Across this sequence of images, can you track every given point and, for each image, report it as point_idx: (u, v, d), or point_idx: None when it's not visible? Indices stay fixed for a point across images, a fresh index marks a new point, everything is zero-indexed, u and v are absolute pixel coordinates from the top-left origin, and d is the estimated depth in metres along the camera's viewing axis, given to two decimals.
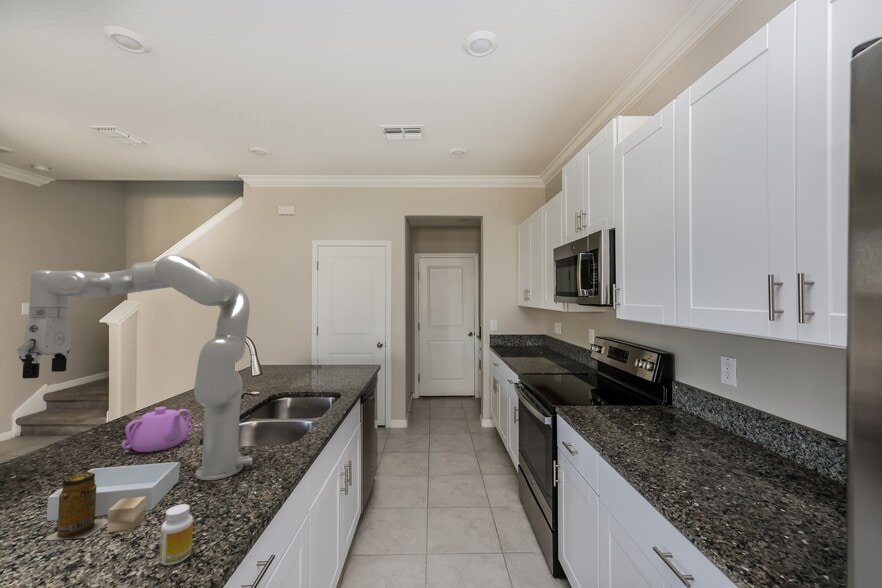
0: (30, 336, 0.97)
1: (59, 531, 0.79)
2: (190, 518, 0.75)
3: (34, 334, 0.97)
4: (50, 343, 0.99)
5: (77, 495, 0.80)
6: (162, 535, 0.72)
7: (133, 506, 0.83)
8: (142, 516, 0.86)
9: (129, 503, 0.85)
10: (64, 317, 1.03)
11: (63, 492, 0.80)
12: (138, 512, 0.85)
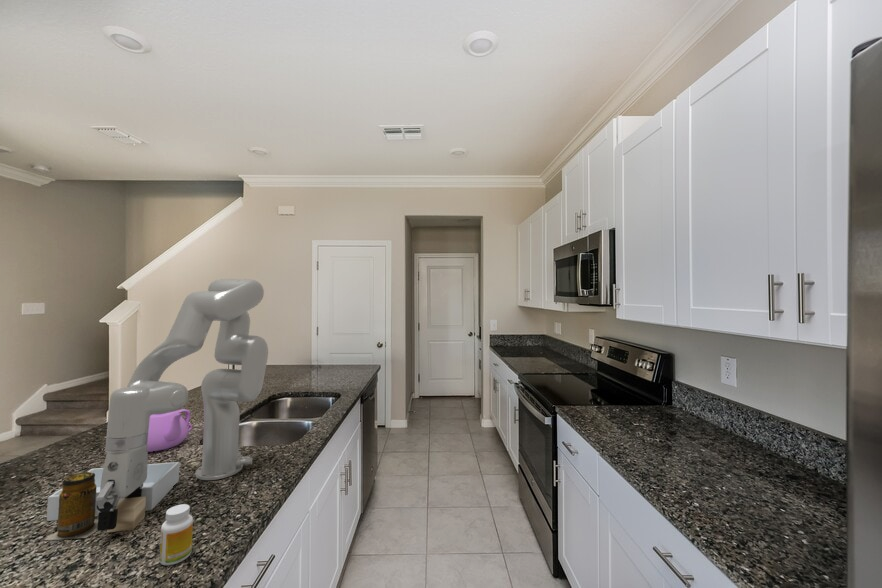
0: (109, 477, 0.79)
1: (59, 531, 0.79)
2: (190, 518, 0.75)
3: (113, 473, 0.79)
4: (130, 481, 0.81)
5: (77, 495, 0.80)
6: (162, 535, 0.72)
7: (133, 506, 0.83)
8: (142, 516, 0.86)
9: (129, 503, 0.85)
10: (145, 444, 0.85)
11: (63, 492, 0.80)
12: (138, 512, 0.85)
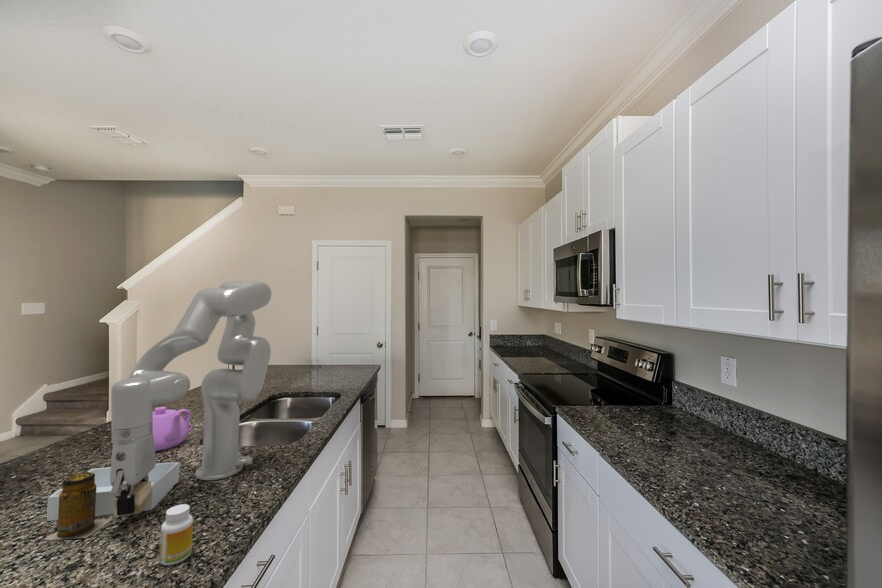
0: (117, 466, 0.81)
1: (59, 531, 0.79)
2: (190, 518, 0.75)
3: (121, 463, 0.81)
4: (139, 469, 0.83)
5: (77, 495, 0.80)
6: (162, 535, 0.72)
7: (139, 490, 0.85)
8: (148, 500, 0.88)
9: (135, 487, 0.86)
10: (150, 433, 0.86)
11: (63, 492, 0.80)
12: (144, 496, 0.86)
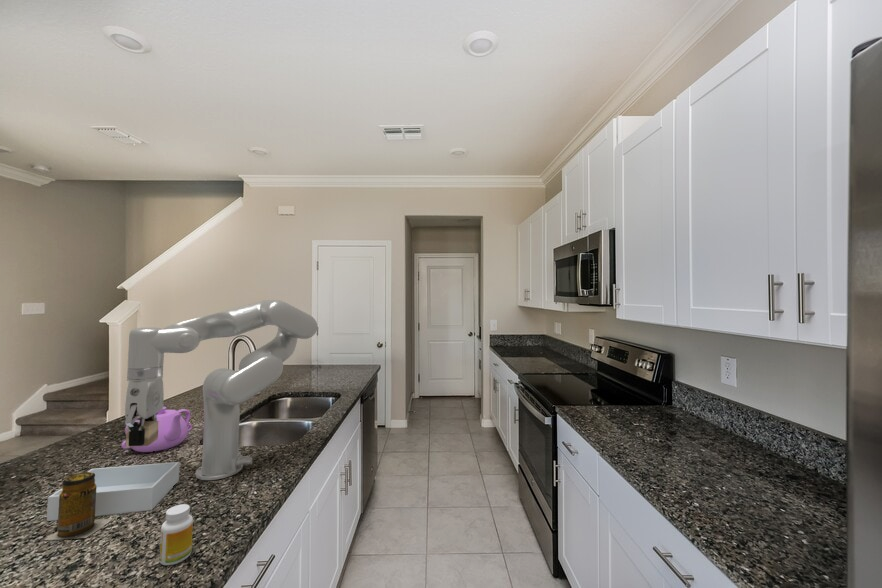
0: (132, 400, 0.92)
1: (59, 531, 0.79)
2: (190, 518, 0.75)
3: (135, 398, 0.92)
4: (149, 405, 0.95)
5: (77, 495, 0.80)
6: (162, 535, 0.72)
7: (148, 425, 0.95)
8: (155, 437, 0.99)
9: (144, 424, 0.97)
10: (161, 376, 0.98)
11: (63, 492, 0.80)
12: (152, 432, 0.97)
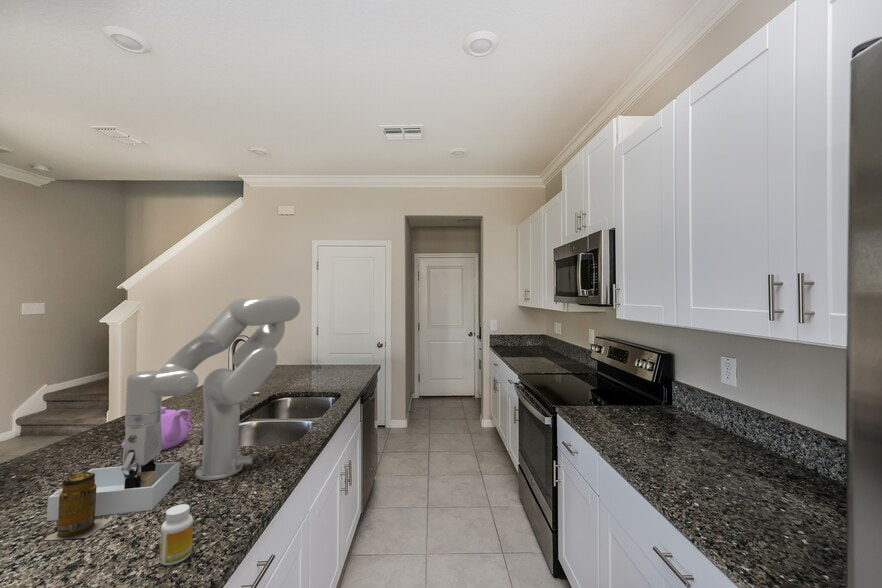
0: (129, 448, 0.92)
1: (59, 531, 0.79)
2: (190, 518, 0.75)
3: (133, 445, 0.92)
4: (147, 451, 0.94)
5: (77, 495, 0.80)
6: (162, 535, 0.72)
7: (146, 478, 0.95)
8: None
9: (142, 475, 0.96)
10: (159, 420, 0.98)
11: (63, 492, 0.80)
12: (150, 483, 0.96)
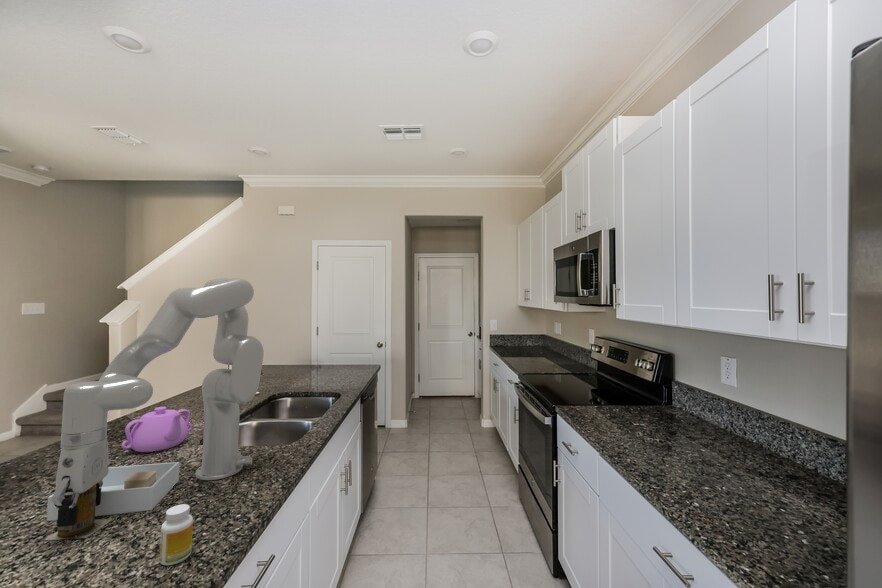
0: (64, 473, 0.78)
1: (59, 531, 0.79)
2: (190, 518, 0.75)
3: (68, 469, 0.78)
4: (87, 477, 0.80)
5: None
6: (162, 535, 0.72)
7: (146, 478, 0.95)
8: None
9: (142, 475, 0.96)
10: (103, 439, 0.84)
11: None
12: (150, 483, 0.96)
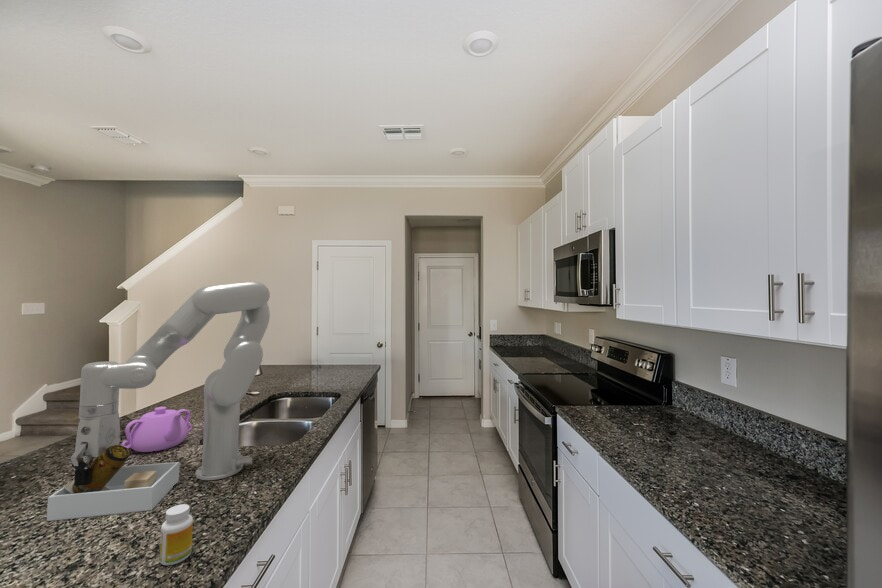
0: (82, 439, 0.89)
1: (76, 486, 0.90)
2: (190, 518, 0.75)
3: (86, 436, 0.89)
4: (102, 444, 0.92)
5: (108, 469, 0.91)
6: (162, 535, 0.72)
7: (146, 478, 0.95)
8: None
9: (142, 475, 0.96)
10: (115, 412, 0.95)
11: (101, 459, 0.91)
12: (150, 483, 0.96)
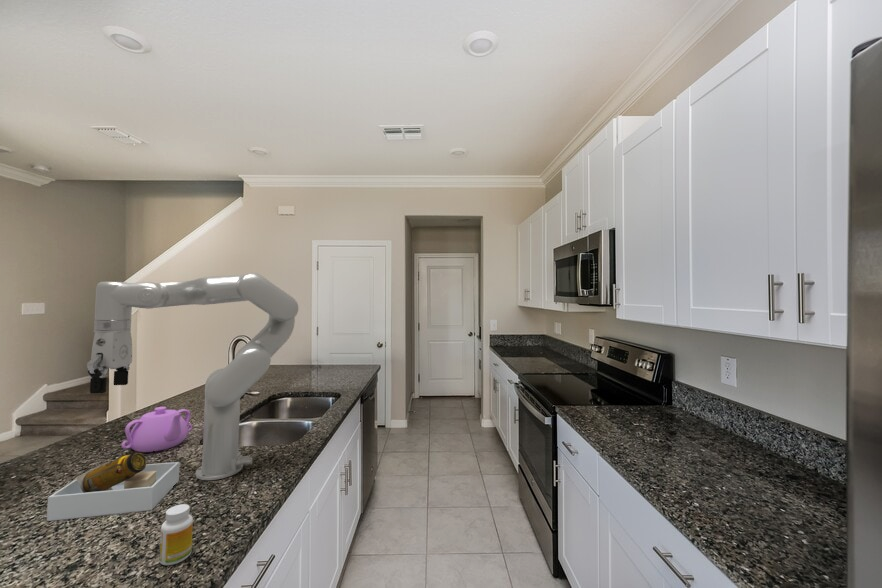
0: (97, 350, 0.94)
1: (87, 481, 0.91)
2: (190, 518, 0.75)
3: (101, 348, 0.94)
4: (116, 357, 0.96)
5: (122, 477, 0.92)
6: (162, 535, 0.72)
7: (146, 478, 0.95)
8: None
9: (142, 475, 0.96)
10: (128, 329, 1.00)
11: (120, 465, 0.92)
12: (150, 483, 0.96)
